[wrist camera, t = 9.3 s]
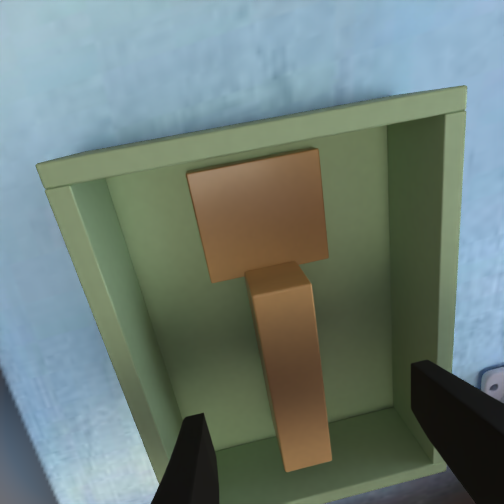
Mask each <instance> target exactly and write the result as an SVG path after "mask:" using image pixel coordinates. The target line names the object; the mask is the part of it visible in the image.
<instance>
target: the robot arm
mask: <svg viewBox="0 0 504 504" xmlns="http://www.w3.org/2000/svg"><path fill="white" fill-rule="evenodd" d="M411 410H412V412H413V414H414V415H415V417H416V419H417V421H418V422H419V424H420V426H421V428H422V429H423V431H424V433H425V434H426V436H427V438H428V439H429V440H430V442H431V443H432V445H433V446H434V447H435V449H436V450H437V451H438V453H439V454H440V456H441V457H442V458H443V460H444V461H445V462H446V464H447V465H448V466H449V468H450V469H451V470H452V472H453V473H454V474H455V476H456V477H457V478H458V480H459V481H460V482H461V484H462V485H463V487H464V488H465V489H466V491H467V492H468V493H469V495H470V496H471V497H472V499H473V500H474V501H475V503H476V504H504V367H500V368H496V369H492V370H489V371H487V372H485V373H484V374H483V376H482V381H481V390H479V389H477V388H476V387H474V386H472V385H470V384H469V383H467V382H465V381H464V380H462V379H460V378H458V377H457V376H455V375H453V374H452V373H450V372H448V371H447V370H445V369H443V368H442V367H440V366H438V365H436V364H435V363H433V362H431V361H429V360H428V359H427V360H423V361H419V362H415V363H411ZM151 504H219V480H218V468H217V458H216V453H215V450H214V446H213V443H212V440H211V436H210V433H209V429H208V426H207V422H206V419H205V415H204V413H200V414H196V415H191V416H187V417H185V418H184V420H183V422H182V425H181V429H180V432H179V435H178V438H177V441H176V444H175V447H174V449H173V452H172V455H171V458H170V460H169V463H168V465H167V468H166V470H165V473H164V475H163V478H162V480H161V482H160V485H159V487H158V489H157V492H156V494H155V496H154V498H153V500H152V502H151Z"/></svg>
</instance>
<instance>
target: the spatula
mask: <svg viewBox="0 0 504 504" xmlns="http://www.w3.org/2000/svg"><path fill="white" fill-rule="evenodd" d="M186 179H187V183H188V187H189V191H190V196H191V200H192V204H193V208H194V213H195V217H196V221H197V225H198V230H199V234H200V238H201V242H202V247H203V251H204V255H205V259H206V263H207V268H208V272H209V276H210V280H211V283H217V282H221V281H226V280H231V279H235V278H240V277H244V278H245V283H246V288H247V293H248V298H249V303H250V309H251V314H252V319H253V324H254V329H255V334H256V339H257V344H258V350H259V355H260V360H261V365H262V370H263V375H264V380H265V385H266V391H267V396H268V401H269V406H270V411H271V416H272V421H273V425H274V429H275V433H276V437H277V441H278V445H279V450H280V454H281V458H282V462H283V466H284V470H285V472H290V471H294V470H298V469H302V468H306V467H310V466H314V465H317V464H321V463H325V462H329V461H332V452H331V443H330V435H329V426H328V417H327V409H326V400H325V392H324V383H323V374H322V366H321V357H320V349H319V340H318V332H317V323H316V314H315V306H314V297H313V289H312V284H311V282H310V281H309V279H308V278H307V276H306V275H305V274H304V272H303V271H302V269H301V268H300V266H299V265H300V264H305V263H310V262H314V261H319V260H324V259H328V258H329V252H328V242H327V231H326V220H325V210H324V199H323V188H322V177H321V167H320V156H319V149H318V148H314V147H309V148H304V149H299V150H293V151H288V152H283V153H278V154H272V155H267V156H262V157H257V158H251V159H246V160H241V161H236V162H230V163H225V164H220V165H215V166H209V167H204V168H199V169H194V170H188V171H187V172H186Z"/></svg>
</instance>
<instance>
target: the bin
mask: <svg viewBox="0 0 504 504" xmlns="http://www.w3.org/2000/svg"><path fill="white" fill-rule="evenodd" d="M466 101H467V86H465V85H463V86H456V87H449V88H442V89H435V90H428V91H421V92H414V93H407V94H400V95H393V96H388V97H382V98H377V99H371V100H366V101H360V102H355V103H349V104H344V105H338V106H333V107H327V108H322V109H316V110H311V111H305V112H300V113H294V114H289V115H283V116H278V117H272V118H267V119H261V120H256V121H250V122H245V123H239V124H234V125H228V126H223V127H217V128H212V129H206V130H201V131H195V132H190V133H184V134H179V135H173V136H168V137H162V138H157V139H151V140H146V141H140V142H135V143H129V144H124V145H118V146H113V147H107V148H102V149H96V150H91V151H85V152H81V153H77V154H73V155H69V156H65V157H61V158H57V159H53V160H49V161H45V162H41V163H37V164H36V169H37V171H38V174H39V176H40V179H41V181H42V184H43V186H44V188H45V189H46V190H45V193H46V195H47V198H48V200H49V203H50V206H51V208H52V211H53V213H54V216H55V218H56V221H57V223H58V226H59V229H60V231H61V234H62V236H63V239H64V241H65V244H66V247H67V249H68V252H69V254H70V257H71V259H72V262H73V265H74V267H75V270H76V272H77V275H78V277H79V280H80V282H81V285H82V288H83V290H84V293H85V295H86V298H87V300H88V303H89V306H90V308H91V311H92V313H93V316H94V318H95V321H96V323H97V326H98V329H99V331H100V334H101V336H102V339H103V341H104V344H105V347H106V349H107V352H108V354H109V357H110V359H111V362H112V365H113V367H114V370H115V372H116V375H117V377H118V380H119V382H120V385H121V388H122V390H123V393H124V395H125V398H126V400H127V403H128V406H129V408H130V411H131V413H132V416H133V418H134V421H135V423H136V426H137V429H138V431H139V434H140V436H141V439H142V441H143V444H144V447H145V449H146V452H147V454H148V457H149V459H150V462H151V465H152V467H153V470H154V472H155V475H156V477H157V480H158V482H159V485H160V482H161V480H162V478H163V475H164V473H165V470H166V468H167V465H168V463H169V460H170V458H171V455H172V452H173V449H174V447H175V444H176V441H177V438H178V435H179V432H180V429H181V425H182V422H183V420H184V418H185V417H187V416H191V415H196V414H200V413H204V415H205V419H206V422H207V426H208V429H209V433H210V436H211V440H212V443H213V446H214V450H215V453H216V458H217V468H218V480H219V504H324V503H327V502H331V501H335V500H339V499H342V498H346V497H350V496H354V495H357V494H361V493H365V492H369V491H372V490H376V489H380V488H384V487H387V486H391V485H395V484H399V483H402V482H406V481H410V480H414V479H417V478H421V477H425V476H429V475H432V474H436V473H440V472H444V471H446V462H445V461H444V460H443V458H442V457H441V456H440V454H439V453H438V451H437V450H436V449H435V447H434V446H433V445H432V443H431V442H430V440H429V439H428V438H427V436H426V434H425V433H424V431H423V429H422V428H421V426H420V424H419V422H418V421H417V419H416V417H415V415H414V414H413V412H412V410H411V363H415V362H419V361H423V360H427V359H428V360H429V361H431V362H433V363H435V364H436V365H438V366H440V367H442V368H443V369H445V370H447V371H448V372H450V373H452V360H453V342H454V324H455V306H456V288H457V270H458V252H459V234H460V216H461V198H462V181H463V163H464V145H465V127H466V111H464V110H465V109H466ZM309 147H314V148H318V149H319V156H320V167H321V177H322V188H323V199H324V210H325V220H326V231H327V242H328V252H329V258H328V259H324V260H319V261H314V262H310V263H305V264H300V265H299V266H300V268H301V269H302V271H303V272H304V274H305V275H306V276H307V278H308V279H309V281H310V282H311V284H312V289H313V297H314V306H315V314H316V323H317V332H318V340H319V349H320V357H321V366H322V374H323V383H324V392H325V400H326V409H327V417H328V426H329V435H330V443H331V452H332V461H329V462H325V463H321V464H317V465H314V466H310V467H306V468H302V469H298V470H294V471H290V472H285V470H284V466H283V462H282V458H281V454H280V450H279V445H278V441H277V437H276V433H275V429H274V425H273V421H272V416H271V411H270V406H269V401H268V396H267V391H266V385H265V380H264V375H263V370H262V365H261V360H260V355H259V350H258V344H257V339H256V334H255V329H254V324H253V319H252V314H251V309H250V303H249V298H248V293H247V288H246V283H245V278H244V277H240V278H235V279H231V280H226V281H221V282H217V283H211V280H210V276H209V272H208V268H207V263H206V259H205V255H204V251H203V247H202V242H201V238H200V234H199V230H198V225H197V221H196V217H195V213H194V208H193V204H192V200H191V196H190V191H189V187H188V183H187V179H186V172H187V171H188V170H194V169H199V168H204V167H209V166H215V165H220V164H225V163H230V162H236V161H241V160H246V159H251V158H257V157H262V156H267V155H272V154H278V153H283V152H288V151H293V150H299V149H304V148H309Z"/></svg>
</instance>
